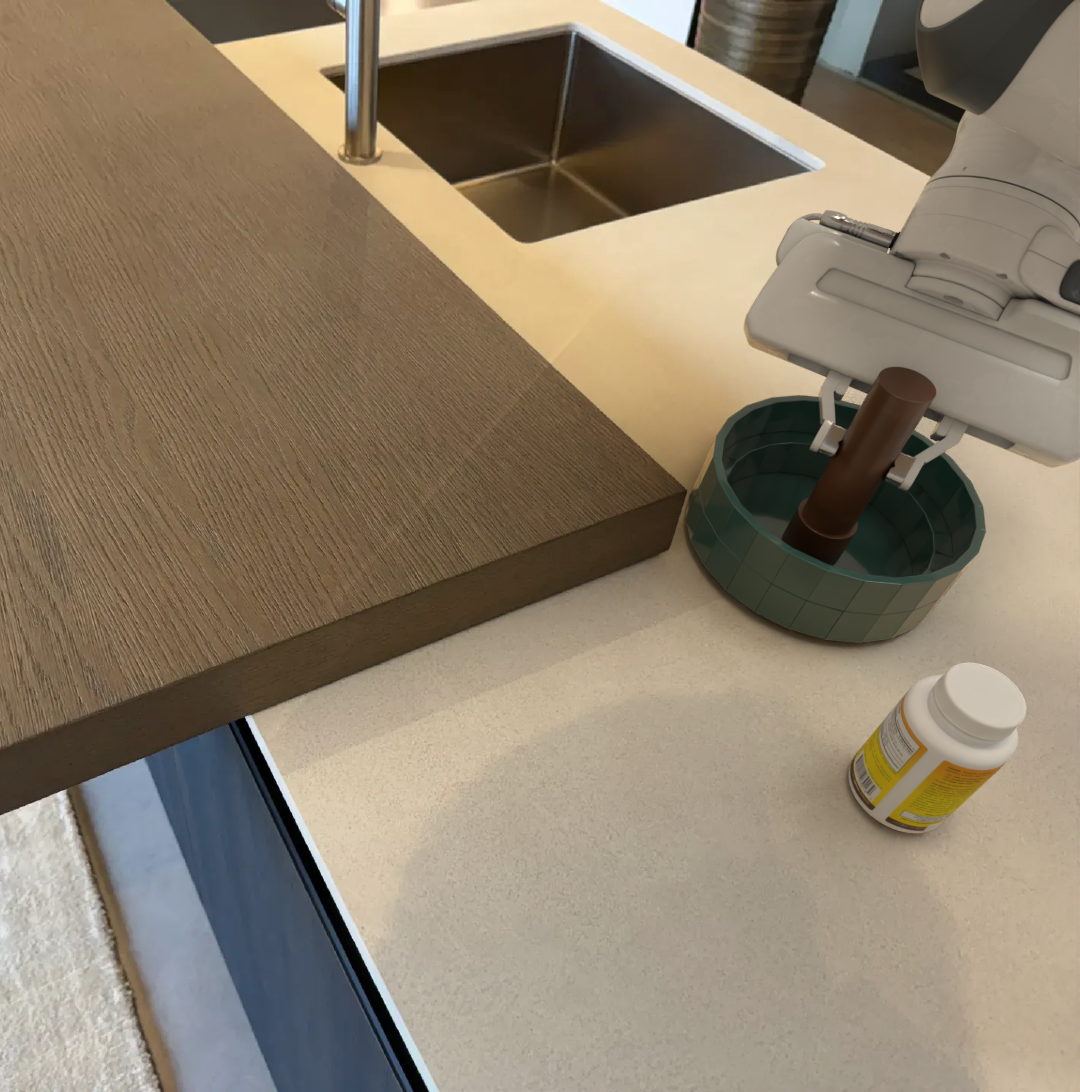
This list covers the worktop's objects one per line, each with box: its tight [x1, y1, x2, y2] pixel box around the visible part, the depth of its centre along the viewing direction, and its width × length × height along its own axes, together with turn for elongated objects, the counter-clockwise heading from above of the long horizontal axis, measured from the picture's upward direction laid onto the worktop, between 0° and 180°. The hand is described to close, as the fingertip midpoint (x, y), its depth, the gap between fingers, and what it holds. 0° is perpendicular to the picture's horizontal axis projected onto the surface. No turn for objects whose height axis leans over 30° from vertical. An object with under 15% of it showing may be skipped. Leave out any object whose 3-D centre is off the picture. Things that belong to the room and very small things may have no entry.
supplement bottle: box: [848, 661, 1027, 834], centre depth 56 cm, size 6×6×10 cm
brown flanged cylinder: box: [781, 367, 936, 566], centre depth 64 cm, size 4×4×14 cm
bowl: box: [685, 394, 987, 644], centre depth 69 cm, size 17×17×6 cm
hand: (857, 469), depth 63 cm, fingers closed on brown flanged cylinder, 3 cm apart
